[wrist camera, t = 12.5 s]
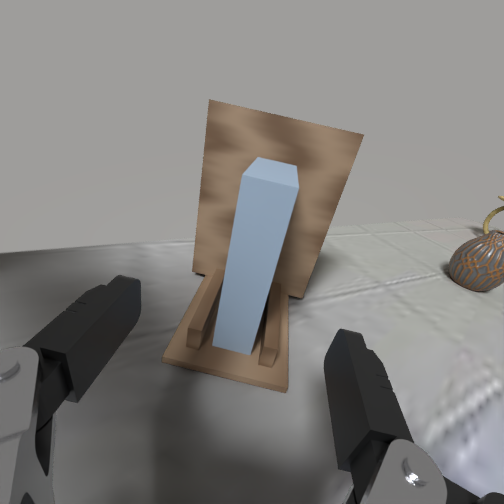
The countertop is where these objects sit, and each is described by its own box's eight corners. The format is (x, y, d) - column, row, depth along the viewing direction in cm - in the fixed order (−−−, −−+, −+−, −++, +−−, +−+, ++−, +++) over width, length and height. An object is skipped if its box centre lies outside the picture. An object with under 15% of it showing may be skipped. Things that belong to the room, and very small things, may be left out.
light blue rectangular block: (212, 345, 19) (242, 174, 13) (231, 290, 25) (257, 156, 19) (250, 355, 19) (299, 187, 13) (260, 298, 25) (296, 165, 19)
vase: (440, 280, 38) (476, 229, 34) (441, 266, 43) (472, 219, 39) (495, 304, 35) (542, 251, 31) (489, 285, 40) (529, 237, 36)
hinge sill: (141, 357, 18) (134, 81, 10) (196, 268, 28) (214, 100, 20) (306, 398, 18) (435, 149, 10) (299, 293, 28) (359, 133, 20)
